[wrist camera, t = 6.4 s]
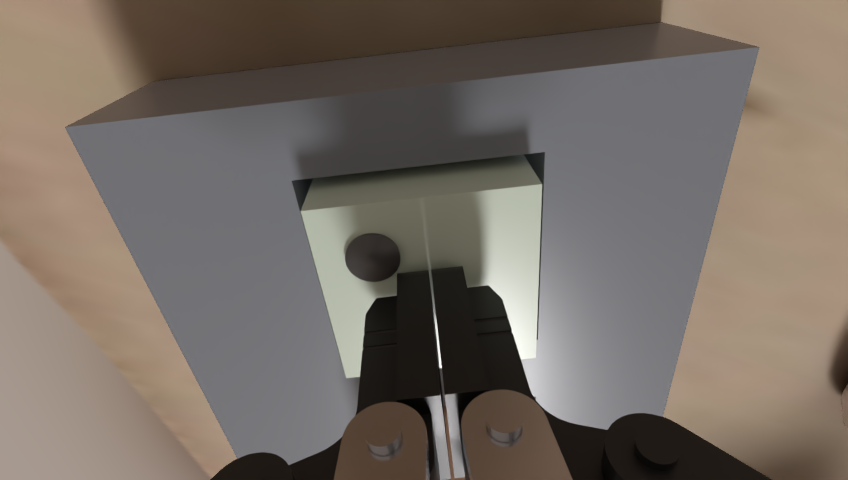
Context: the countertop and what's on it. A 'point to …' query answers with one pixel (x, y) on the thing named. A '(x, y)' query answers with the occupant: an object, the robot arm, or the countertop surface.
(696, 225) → the button panel
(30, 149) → the countertop surface
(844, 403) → the plastic bottle
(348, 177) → the button two dots
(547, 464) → the robot arm
